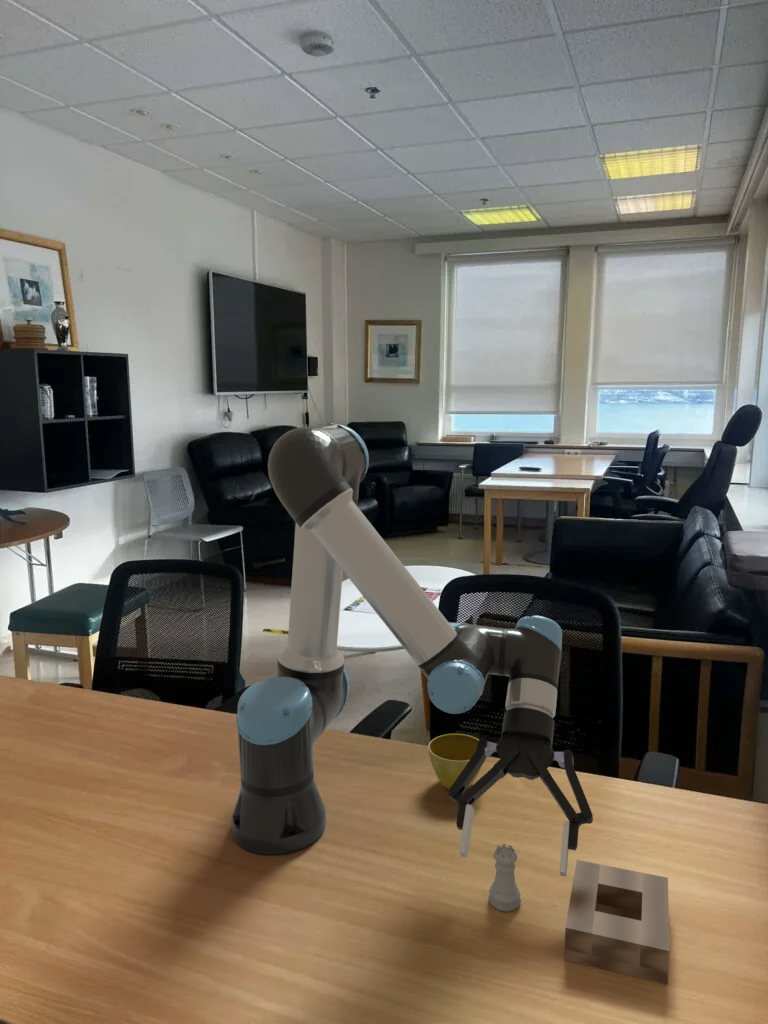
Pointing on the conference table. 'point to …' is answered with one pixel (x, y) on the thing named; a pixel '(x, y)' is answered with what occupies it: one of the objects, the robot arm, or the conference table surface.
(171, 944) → the conference table surface
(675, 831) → the conference table surface
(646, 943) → the socket block
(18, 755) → the conference table surface
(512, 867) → the rook chess piece
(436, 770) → the flower pot
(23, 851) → the conference table surface
